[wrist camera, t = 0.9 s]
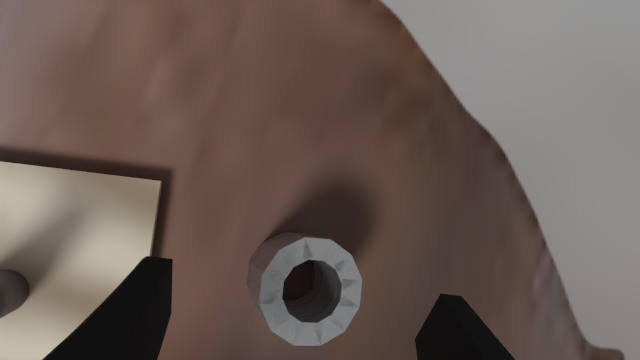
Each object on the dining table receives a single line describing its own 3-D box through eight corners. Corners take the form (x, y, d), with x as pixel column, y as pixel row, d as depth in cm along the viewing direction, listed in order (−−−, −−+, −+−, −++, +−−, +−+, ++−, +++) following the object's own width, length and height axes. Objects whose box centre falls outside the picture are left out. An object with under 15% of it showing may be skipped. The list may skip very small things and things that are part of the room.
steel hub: (326, 319, 25) (356, 345, 20) (242, 317, 23) (253, 345, 19) (334, 236, 26) (365, 242, 21) (253, 228, 24) (267, 233, 19)
